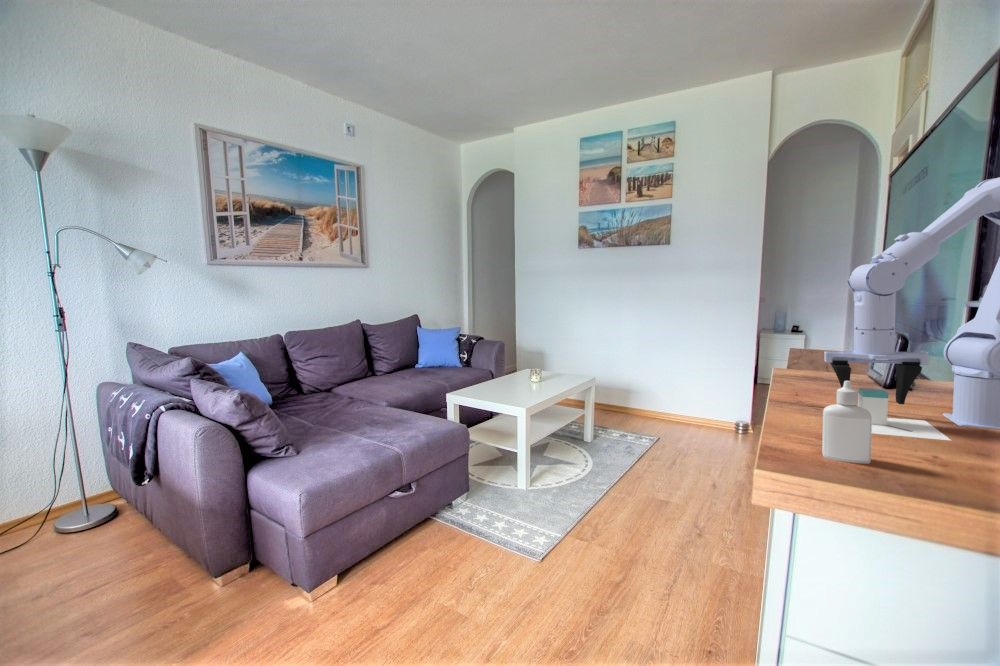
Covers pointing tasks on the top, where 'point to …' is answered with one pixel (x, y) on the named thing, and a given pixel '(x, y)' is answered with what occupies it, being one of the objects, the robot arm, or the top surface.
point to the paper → (908, 429)
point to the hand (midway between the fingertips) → (872, 401)
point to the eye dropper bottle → (847, 428)
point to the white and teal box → (874, 404)
